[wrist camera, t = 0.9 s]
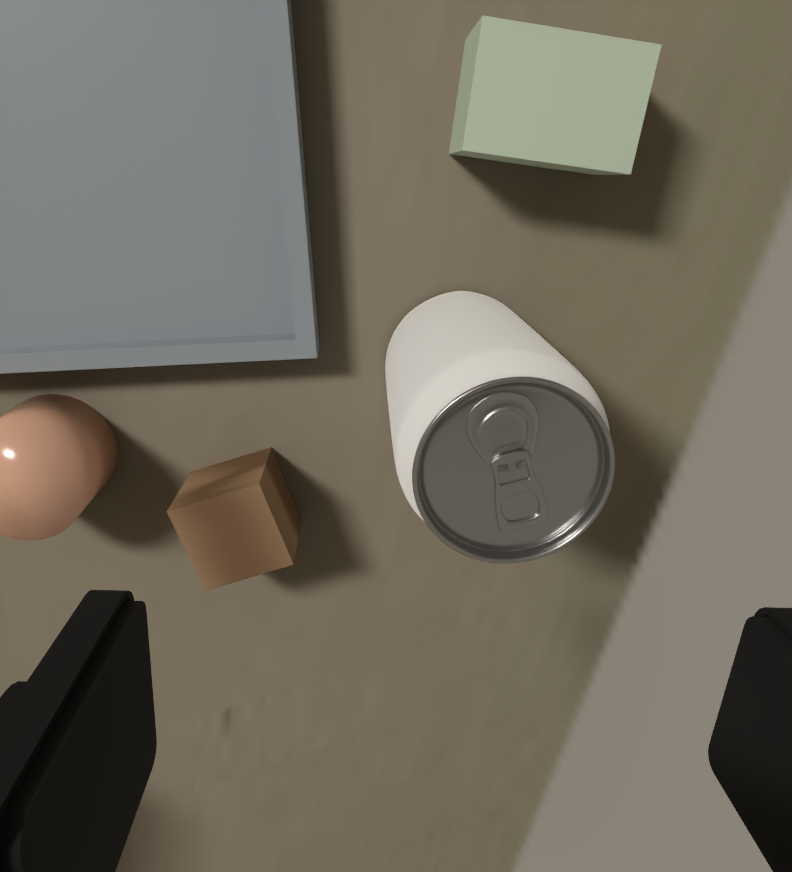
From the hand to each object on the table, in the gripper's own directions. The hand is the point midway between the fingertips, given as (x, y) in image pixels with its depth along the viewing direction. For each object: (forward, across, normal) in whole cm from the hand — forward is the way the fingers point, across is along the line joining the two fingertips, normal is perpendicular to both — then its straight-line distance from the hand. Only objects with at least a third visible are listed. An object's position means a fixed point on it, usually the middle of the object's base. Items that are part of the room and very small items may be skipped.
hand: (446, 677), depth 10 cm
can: (+20, -3, 0) cm, 21 cm away
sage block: (+20, -5, -10) cm, 23 cm away
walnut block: (+20, +6, +7) cm, 22 cm away
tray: (+20, +12, -8) cm, 25 cm away
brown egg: (+20, +15, +5) cm, 26 cm away
